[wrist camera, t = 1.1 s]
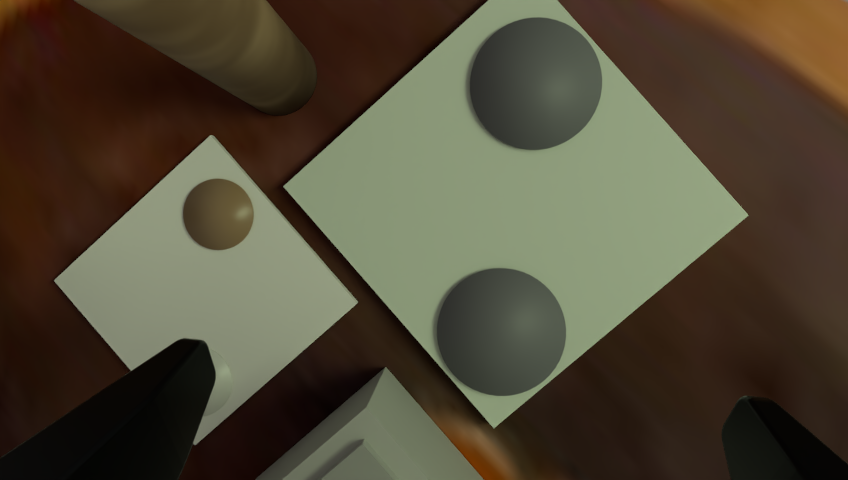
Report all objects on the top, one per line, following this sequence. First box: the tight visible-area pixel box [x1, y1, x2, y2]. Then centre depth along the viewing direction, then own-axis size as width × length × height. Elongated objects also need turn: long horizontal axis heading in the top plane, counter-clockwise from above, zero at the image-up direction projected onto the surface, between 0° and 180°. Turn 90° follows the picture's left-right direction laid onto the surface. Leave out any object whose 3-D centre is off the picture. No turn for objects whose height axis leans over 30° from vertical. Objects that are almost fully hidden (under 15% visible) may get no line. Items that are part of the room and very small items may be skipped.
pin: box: [74, 0, 317, 116], centre depth 16 cm, size 4×4×13 cm
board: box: [283, 0, 748, 428], centre depth 22 cm, size 14×14×1 cm
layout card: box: [54, 135, 358, 445], centre depth 23 cm, size 10×10×1 cm
